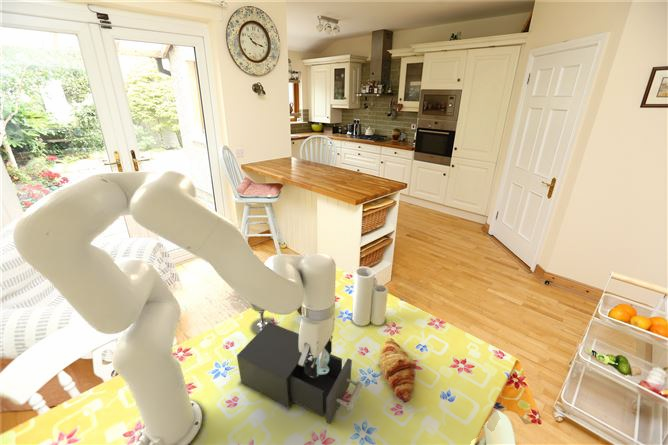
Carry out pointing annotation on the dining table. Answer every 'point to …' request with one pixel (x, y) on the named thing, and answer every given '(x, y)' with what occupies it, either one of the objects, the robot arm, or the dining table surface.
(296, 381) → the drawer
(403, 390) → the croissant
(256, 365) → the cabinet
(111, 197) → the robot arm
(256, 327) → the wine glass
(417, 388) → the dining table surface
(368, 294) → the vase
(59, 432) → the dining table surface
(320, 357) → the pacifier
